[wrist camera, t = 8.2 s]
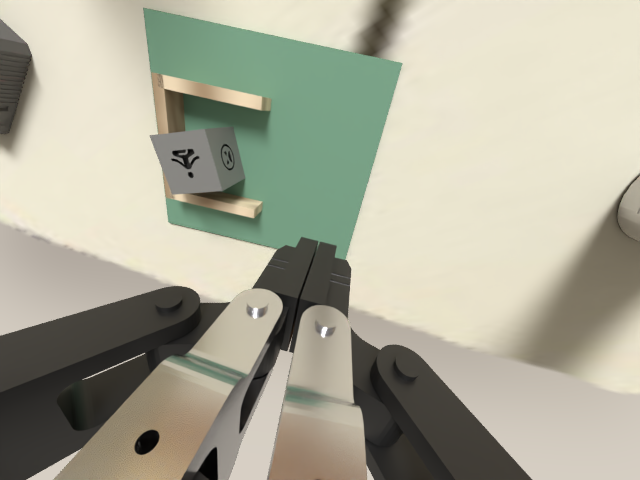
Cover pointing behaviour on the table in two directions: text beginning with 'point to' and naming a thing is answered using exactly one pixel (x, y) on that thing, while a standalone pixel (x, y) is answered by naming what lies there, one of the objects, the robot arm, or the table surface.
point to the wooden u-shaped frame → (173, 120)
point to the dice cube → (199, 159)
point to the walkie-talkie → (11, 73)
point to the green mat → (280, 126)
